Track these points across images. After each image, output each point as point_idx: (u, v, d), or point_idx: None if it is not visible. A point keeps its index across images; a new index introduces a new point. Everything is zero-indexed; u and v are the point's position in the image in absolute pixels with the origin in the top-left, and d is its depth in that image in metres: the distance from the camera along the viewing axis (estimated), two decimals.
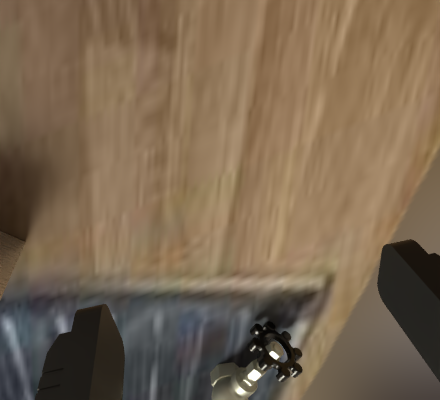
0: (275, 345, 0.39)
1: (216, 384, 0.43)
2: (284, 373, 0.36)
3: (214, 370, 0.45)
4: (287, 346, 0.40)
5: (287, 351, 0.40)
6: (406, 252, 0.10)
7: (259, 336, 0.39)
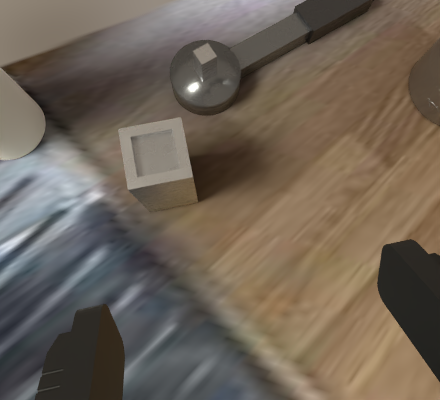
0: None
1: None
2: None
3: None
4: None
5: None
6: (406, 252, 0.10)
7: None
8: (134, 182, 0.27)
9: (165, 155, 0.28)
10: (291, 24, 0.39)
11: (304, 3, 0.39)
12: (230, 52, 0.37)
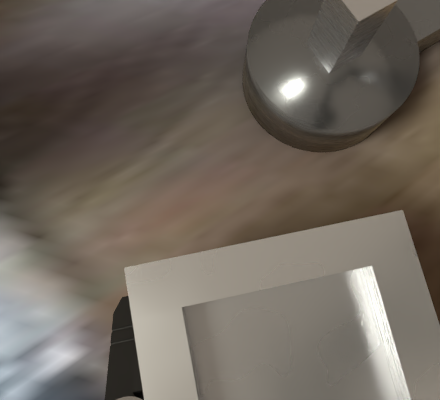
0: None
1: None
2: None
3: None
4: None
5: None
6: None
7: None
8: None
9: (337, 384, 0.06)
10: None
11: None
12: None
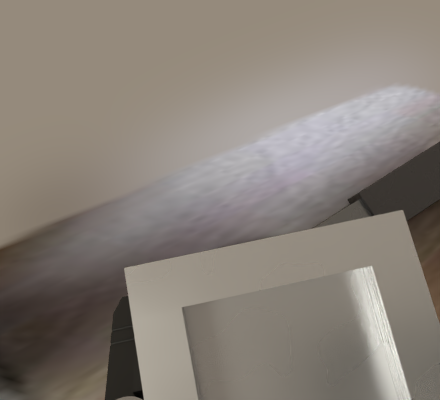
0: None
1: None
2: None
3: None
4: None
5: None
6: None
7: None
8: None
9: (337, 384, 0.06)
10: (353, 219, 0.26)
11: (372, 188, 0.26)
12: None
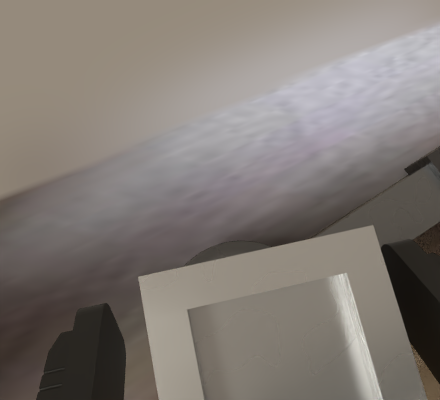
0: None
1: None
2: None
3: None
4: None
5: None
6: (404, 252, 0.10)
7: None
8: None
9: (318, 373, 0.07)
10: (419, 193, 0.18)
11: None
12: None
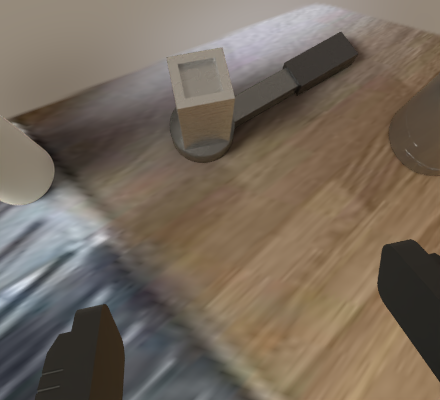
0: None
1: None
2: None
3: None
4: None
5: None
6: (406, 252, 0.10)
7: None
8: (182, 102, 0.30)
9: (208, 81, 0.31)
10: (281, 79, 0.42)
11: (293, 60, 0.42)
12: None
